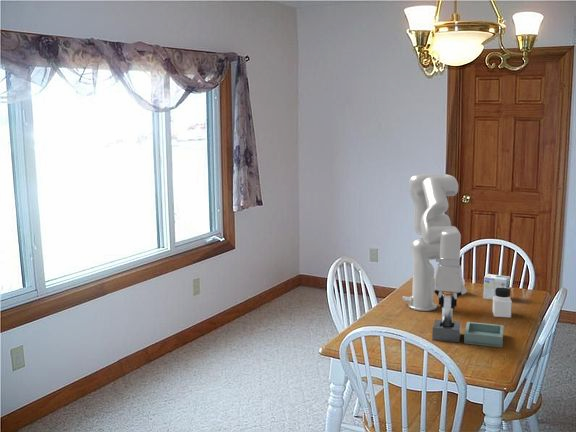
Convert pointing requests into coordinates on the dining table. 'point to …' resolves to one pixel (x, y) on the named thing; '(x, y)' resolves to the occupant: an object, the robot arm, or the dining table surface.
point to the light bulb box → (494, 284)
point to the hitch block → (446, 331)
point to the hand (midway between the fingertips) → (447, 306)
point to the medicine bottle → (502, 303)
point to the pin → (447, 308)
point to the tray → (484, 334)
